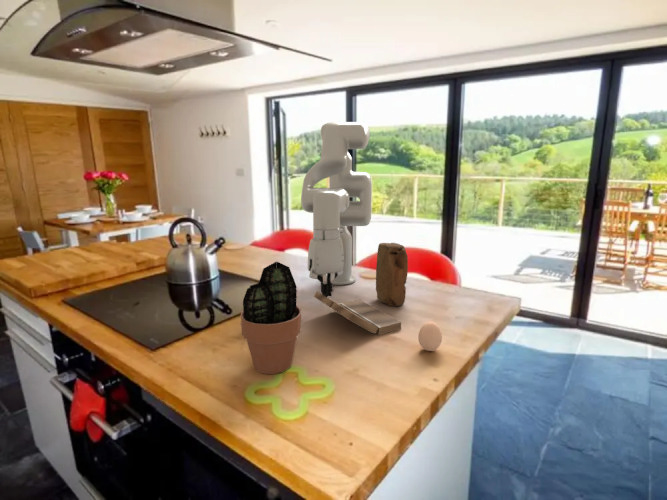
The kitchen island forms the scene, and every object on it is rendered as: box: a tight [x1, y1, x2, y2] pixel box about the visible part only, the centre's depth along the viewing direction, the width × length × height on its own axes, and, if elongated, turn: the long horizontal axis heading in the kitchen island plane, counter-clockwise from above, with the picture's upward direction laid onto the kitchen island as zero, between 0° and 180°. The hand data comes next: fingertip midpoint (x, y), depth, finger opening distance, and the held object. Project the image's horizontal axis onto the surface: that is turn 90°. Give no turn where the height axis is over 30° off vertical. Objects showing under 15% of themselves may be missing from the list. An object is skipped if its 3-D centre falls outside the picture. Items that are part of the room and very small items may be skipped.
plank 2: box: [330, 301, 378, 335], centre depth 108 cm, size 10×10×2 cm
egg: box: [418, 321, 443, 352], centre depth 98 cm, size 6×6×8 cm
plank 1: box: [312, 290, 352, 312], centre depth 117 cm, size 10×10×2 cm
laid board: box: [339, 299, 402, 335], centre depth 118 cm, size 21×8×2 cm, turn 30°
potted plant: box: [240, 261, 302, 375], centre depth 88 cm, size 14×14×25 cm
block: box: [375, 242, 409, 307], centre depth 129 cm, size 11×8×20 cm
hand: (326, 295), depth 115 cm, fingers closed
